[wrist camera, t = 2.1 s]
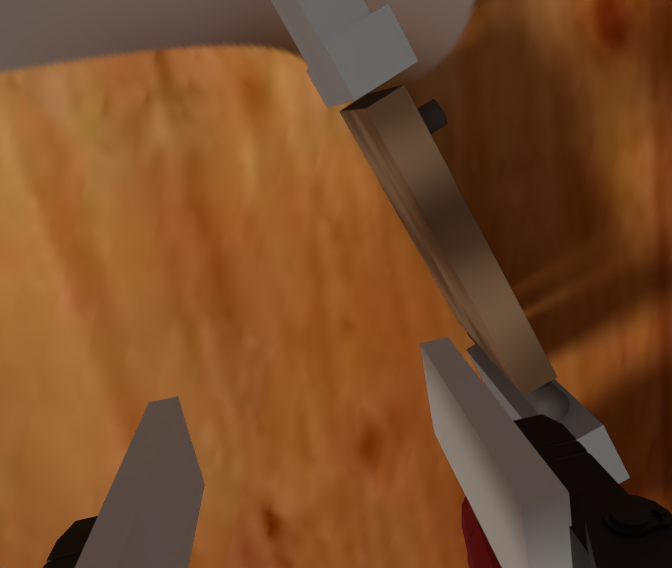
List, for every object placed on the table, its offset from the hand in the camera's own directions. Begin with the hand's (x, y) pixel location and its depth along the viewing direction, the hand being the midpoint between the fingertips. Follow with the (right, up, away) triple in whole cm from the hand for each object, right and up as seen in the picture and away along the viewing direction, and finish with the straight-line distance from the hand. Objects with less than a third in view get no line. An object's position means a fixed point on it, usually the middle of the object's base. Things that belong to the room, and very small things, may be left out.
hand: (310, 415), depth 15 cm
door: (+6, +7, +16) cm, 18 cm away
